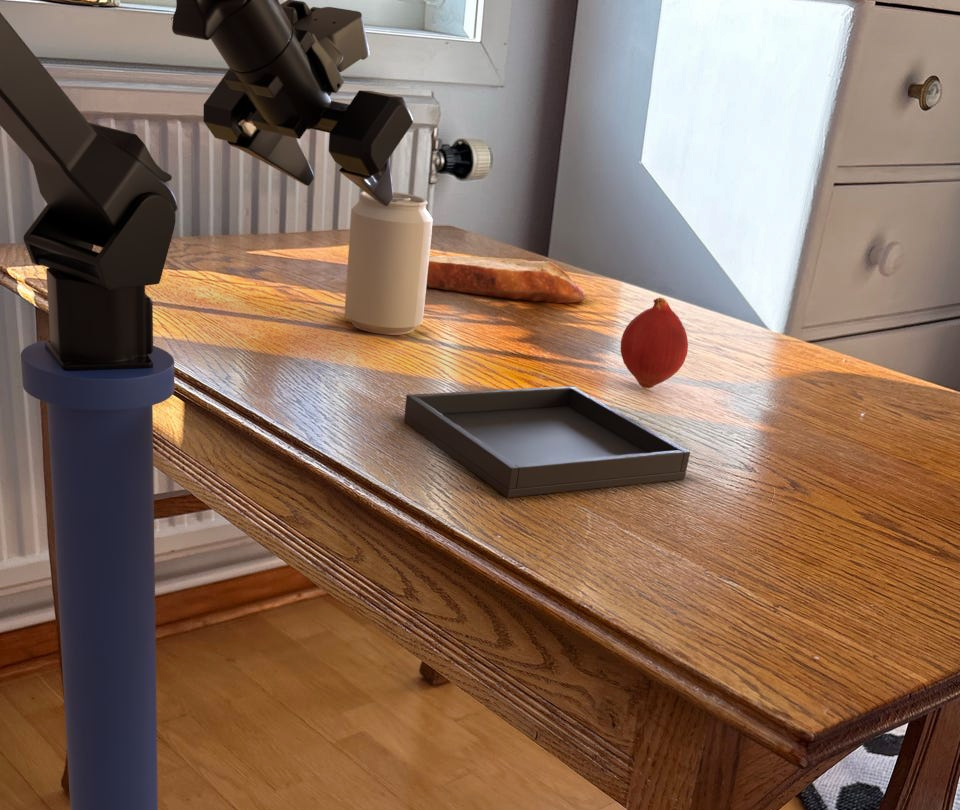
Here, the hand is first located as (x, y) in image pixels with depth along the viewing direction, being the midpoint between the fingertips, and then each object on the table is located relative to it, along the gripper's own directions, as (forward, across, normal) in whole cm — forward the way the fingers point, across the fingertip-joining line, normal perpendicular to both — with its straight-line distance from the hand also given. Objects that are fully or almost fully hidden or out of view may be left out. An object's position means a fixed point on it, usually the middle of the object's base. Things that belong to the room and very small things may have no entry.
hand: (348, 191), depth 102 cm
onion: (+18, -26, 0) cm, 31 cm away
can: (+13, 0, +5) cm, 14 cm away
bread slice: (+30, +5, -12) cm, 33 cm away
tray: (+2, -29, +16) cm, 33 cm away
